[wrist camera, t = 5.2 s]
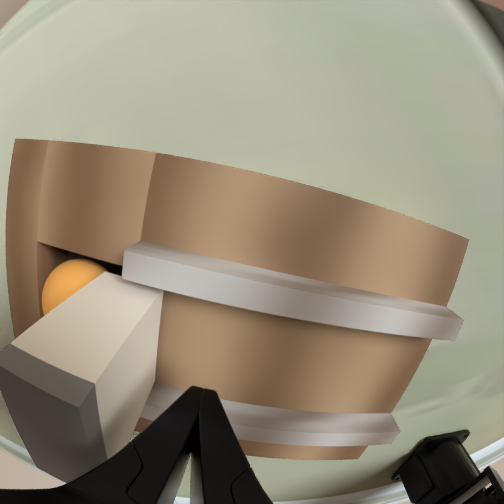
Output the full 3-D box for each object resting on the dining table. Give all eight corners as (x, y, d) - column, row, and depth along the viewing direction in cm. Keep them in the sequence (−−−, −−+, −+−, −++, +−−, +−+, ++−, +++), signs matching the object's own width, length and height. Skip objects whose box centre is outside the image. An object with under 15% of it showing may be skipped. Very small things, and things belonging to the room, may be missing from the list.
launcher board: (434, 227, 13) (490, 247, 9) (347, 427, 16) (363, 476, 12) (50, 142, 12) (-6, 137, 8) (47, 359, 15) (13, 396, 11)
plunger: (164, 287, 10) (78, 407, 4) (154, 380, 11) (106, 500, 5) (104, 271, 10) (-9, 359, 4) (104, 364, 11) (36, 466, 5)
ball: (105, 246, 14) (139, 275, 12) (102, 313, 15) (134, 352, 12) (34, 248, 11) (48, 284, 8) (38, 321, 12) (57, 369, 9)
